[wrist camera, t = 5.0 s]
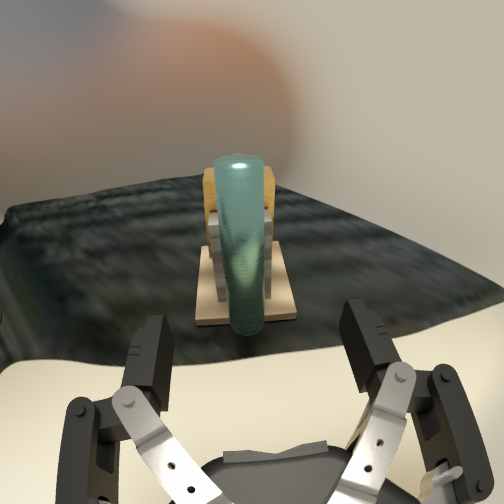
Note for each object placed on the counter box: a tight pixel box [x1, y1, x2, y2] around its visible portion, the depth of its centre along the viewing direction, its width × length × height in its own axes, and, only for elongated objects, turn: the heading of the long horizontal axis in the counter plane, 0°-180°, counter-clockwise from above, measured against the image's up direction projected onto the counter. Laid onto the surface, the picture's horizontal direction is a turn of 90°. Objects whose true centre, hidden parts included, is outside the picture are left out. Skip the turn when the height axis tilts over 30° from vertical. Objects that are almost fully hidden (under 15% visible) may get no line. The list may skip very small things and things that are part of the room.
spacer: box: [203, 166, 275, 259], centre depth 32 cm, size 4×7×9 cm, turn 94°
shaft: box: [213, 154, 265, 335], centre depth 28 cm, size 18×3×15 cm, turn 4°
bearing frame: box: [195, 209, 297, 326], centre depth 35 cm, size 14×11×11 cm
